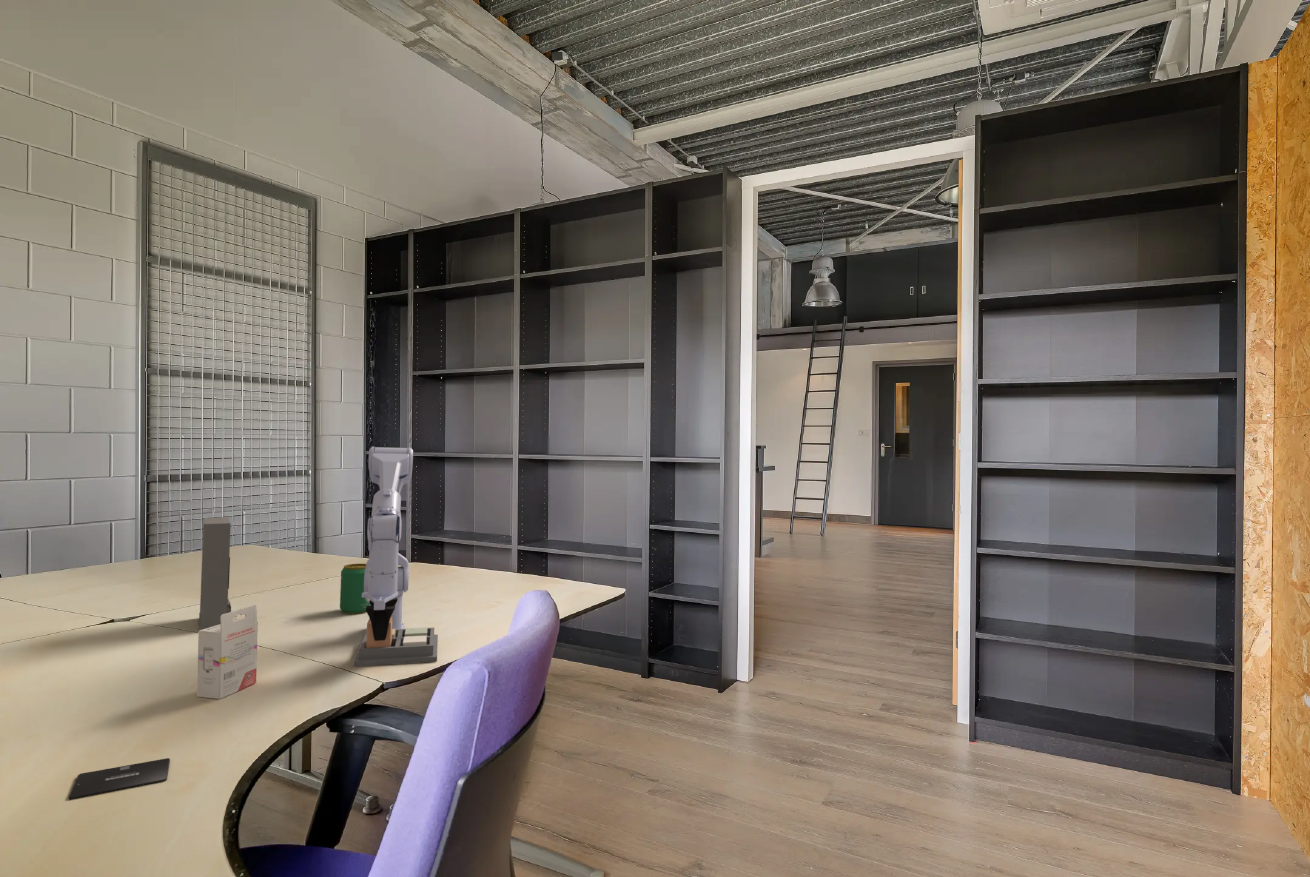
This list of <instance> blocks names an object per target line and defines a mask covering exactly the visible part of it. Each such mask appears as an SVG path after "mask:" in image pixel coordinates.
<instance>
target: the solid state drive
mask: <svg viewBox="0 0 1310 877" xmlns="http://www.w3.org/2000/svg"><path fill="white" fill-rule="evenodd" d="M170 759H171V758H169V757H166V758H161V759H160V758H159V759H155V760H150V761H144V762H139V763H133V764H128V765H127V764H126V765H121V766H117V767H115V766H114V767H110V768H105V769H99V770H95V771H94V770H93V771H89V772H87V771H86V772H82V773H79V774H77V776H76V779H75V781H74V783H73V786H72V788H71V791H70V793H69V795H68V800H76V799H82V798H86V797H88V798H89V797H93V796H97V795H102V794H107V793H113V792H118V791H123V790H128V789H132V788H133V789H134V788H140V787H144V786H148V785H149V786H150V785H154V784H159V783H163V782H166V781H167V780H168V777H169V769H170V762H171V760H170Z"/></svg>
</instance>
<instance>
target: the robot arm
mask: <svg viewBox="0 0 1310 877" xmlns="http://www.w3.org/2000/svg"><path fill="white" fill-rule="evenodd" d="M413 461H414V450H413V449H412V447H382V446H381V447H378V446H377V447H376V446H371V447H370V448H369V450H368V471H369V478H370V481H371V483H373V484H376V485H378V487H379V490H378V491H377V492H376V493H375V494H374V495H373V499H372V506H371V508H372V509H371V517H369V518H368V520H367V530H366V532H367V536H366V537H367V542H368V543H367V544H368V552H369V556H368V560H367V561H366V562H365V564H366V569H365V575H364V593H362V597H363V598H368V599H370V601H369V603H370V606H366V614H367V615H368V616H367V617H369V618H370V621H371V625H372V630H373V636H374V640H375V641H378V640H385V639H386V636H387V631H388V626H389V621H390V618H391V617H392V629H405V623H404V622H402V621H403V620H402V618H403V616H402V615H403V595H404V593H407V592H408V591H409V585H410V584H409V581H410V580H409V578H410V576H409V575H410V568H409V567H410V566H409V564H410V563H409V560H408V559H407V558H406V557H405V556H403V555H402V554H401V553H399V548H400V547H399V544H400V543H399V542H401V538H402V527H403V526H402V525H403V524H402V514H401V509H402V508H401V505H402V504H401V502H402V497H401V491H402V488H403V486H405V485H407V484H408V483H410V482H411V479H412V476H413V475H412V474H413V464H414V463H413Z"/></svg>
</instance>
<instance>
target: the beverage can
mask: <svg viewBox="0 0 1310 877" xmlns="http://www.w3.org/2000/svg"><path fill="white" fill-rule="evenodd" d="M365 569H366V563H350V564H349V563H348V564H345V565H343V568H342V569H341V571H340V588H339V589H340V590H339V592H340V594H339V595H340V596H339V609H340V611H341V613H342V614H345V615H346V614H347V615H359V614H364V613H365V614H367V612H366V606H370V603H369V601H370V599H368V598H363V597H362V593H364V575H365Z"/></svg>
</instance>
